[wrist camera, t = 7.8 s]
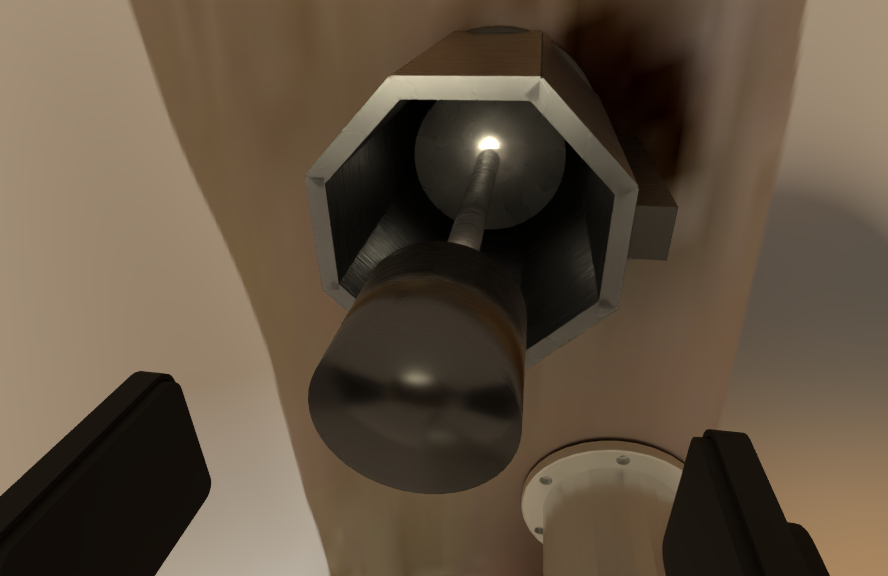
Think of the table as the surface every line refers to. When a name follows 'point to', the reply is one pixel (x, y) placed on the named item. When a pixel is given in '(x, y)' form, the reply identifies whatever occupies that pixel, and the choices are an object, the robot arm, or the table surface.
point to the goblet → (443, 314)
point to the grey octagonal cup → (515, 248)
